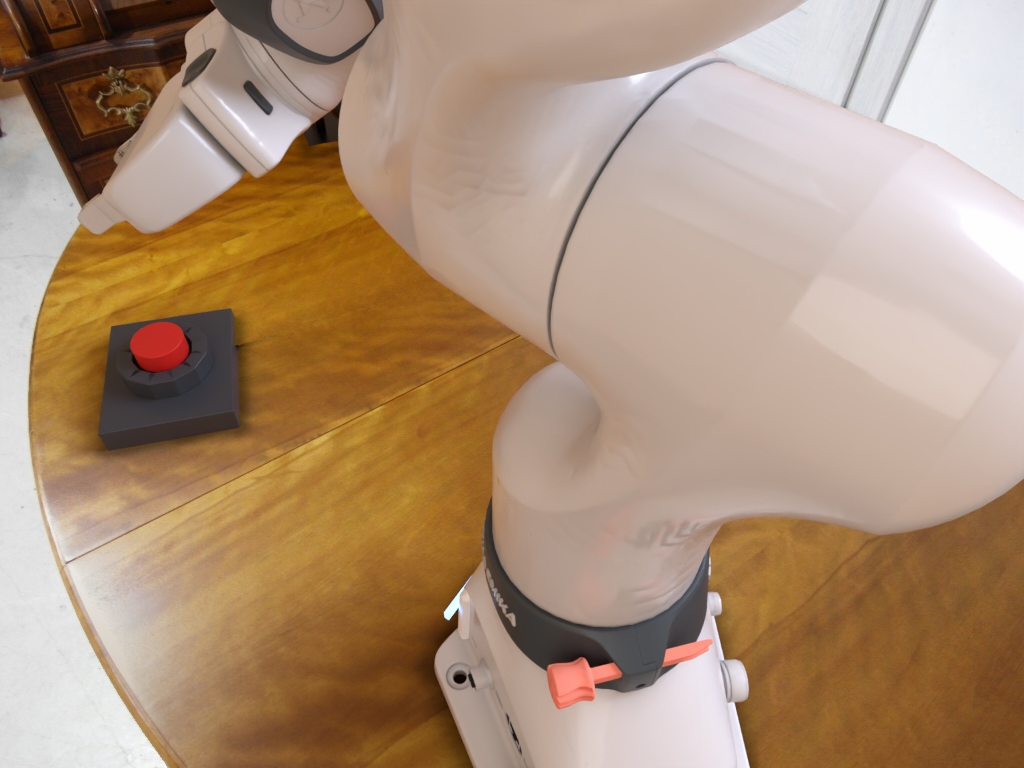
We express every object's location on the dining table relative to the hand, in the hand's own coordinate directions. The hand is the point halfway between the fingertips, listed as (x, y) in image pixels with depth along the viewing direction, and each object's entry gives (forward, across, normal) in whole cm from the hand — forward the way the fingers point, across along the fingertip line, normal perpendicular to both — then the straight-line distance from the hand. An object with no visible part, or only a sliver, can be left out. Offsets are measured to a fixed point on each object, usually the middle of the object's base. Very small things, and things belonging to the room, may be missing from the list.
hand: (106, 191), depth 55 cm
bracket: (-6, -37, +16) cm, 41 cm away
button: (+7, +1, +12) cm, 14 cm away
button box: (+9, +1, +15) cm, 17 cm away
